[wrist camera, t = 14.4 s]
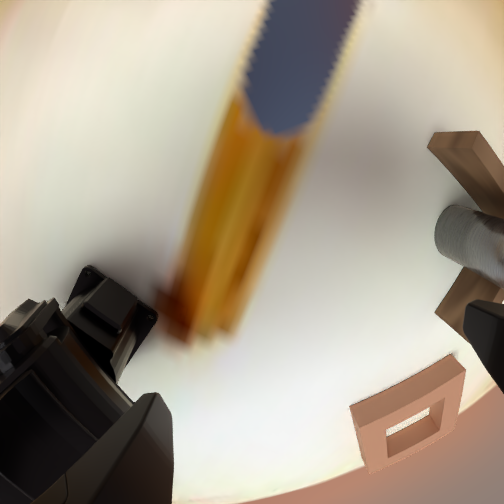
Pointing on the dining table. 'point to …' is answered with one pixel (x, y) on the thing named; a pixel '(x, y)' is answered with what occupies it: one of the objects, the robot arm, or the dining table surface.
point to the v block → (489, 201)
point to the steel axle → (472, 241)
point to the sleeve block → (409, 414)
